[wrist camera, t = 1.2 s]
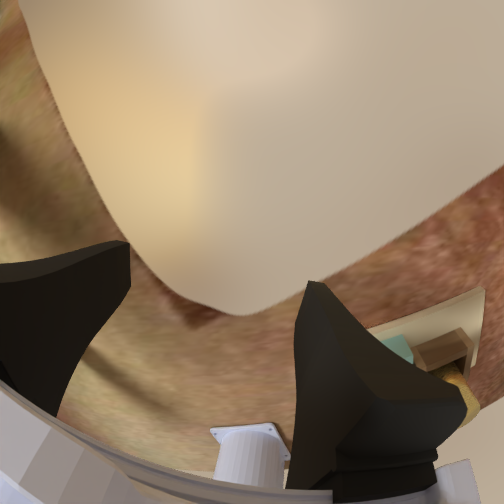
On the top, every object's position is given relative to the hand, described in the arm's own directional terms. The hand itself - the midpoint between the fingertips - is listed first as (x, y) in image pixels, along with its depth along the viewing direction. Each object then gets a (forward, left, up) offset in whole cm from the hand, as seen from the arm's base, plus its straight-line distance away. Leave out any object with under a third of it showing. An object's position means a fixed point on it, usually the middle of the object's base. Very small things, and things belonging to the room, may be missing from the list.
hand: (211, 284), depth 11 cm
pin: (-18, -13, -9) cm, 24 cm away
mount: (-18, -13, -10) cm, 25 cm away
